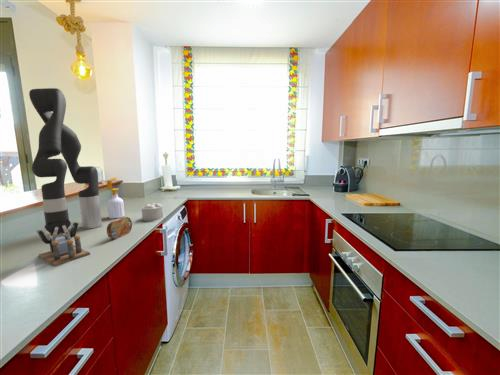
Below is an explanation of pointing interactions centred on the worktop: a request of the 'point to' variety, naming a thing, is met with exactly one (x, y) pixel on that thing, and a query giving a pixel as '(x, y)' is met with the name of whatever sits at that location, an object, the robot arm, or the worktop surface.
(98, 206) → the robot arm
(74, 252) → the board
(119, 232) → the tin
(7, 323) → the worktop surface
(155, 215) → the lumpy-topped squat cylinder
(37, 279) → the worktop surface
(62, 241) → the rectangular block
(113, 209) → the soap bottle
